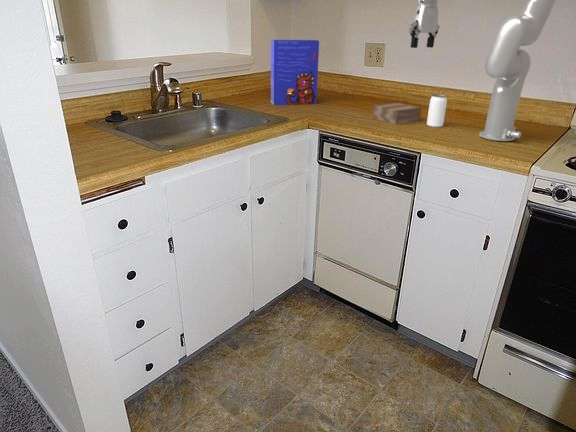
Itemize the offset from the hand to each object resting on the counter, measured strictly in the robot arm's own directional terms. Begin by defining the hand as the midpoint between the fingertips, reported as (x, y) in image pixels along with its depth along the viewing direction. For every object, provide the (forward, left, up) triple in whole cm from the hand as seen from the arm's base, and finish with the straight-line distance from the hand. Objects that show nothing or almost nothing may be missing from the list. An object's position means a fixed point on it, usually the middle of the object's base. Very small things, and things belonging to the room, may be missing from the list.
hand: (421, 47), depth 184 cm
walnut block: (-2, +13, -29) cm, 32 cm away
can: (-18, +7, -29) cm, 35 cm away
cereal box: (+48, +33, -29) cm, 65 cm away
